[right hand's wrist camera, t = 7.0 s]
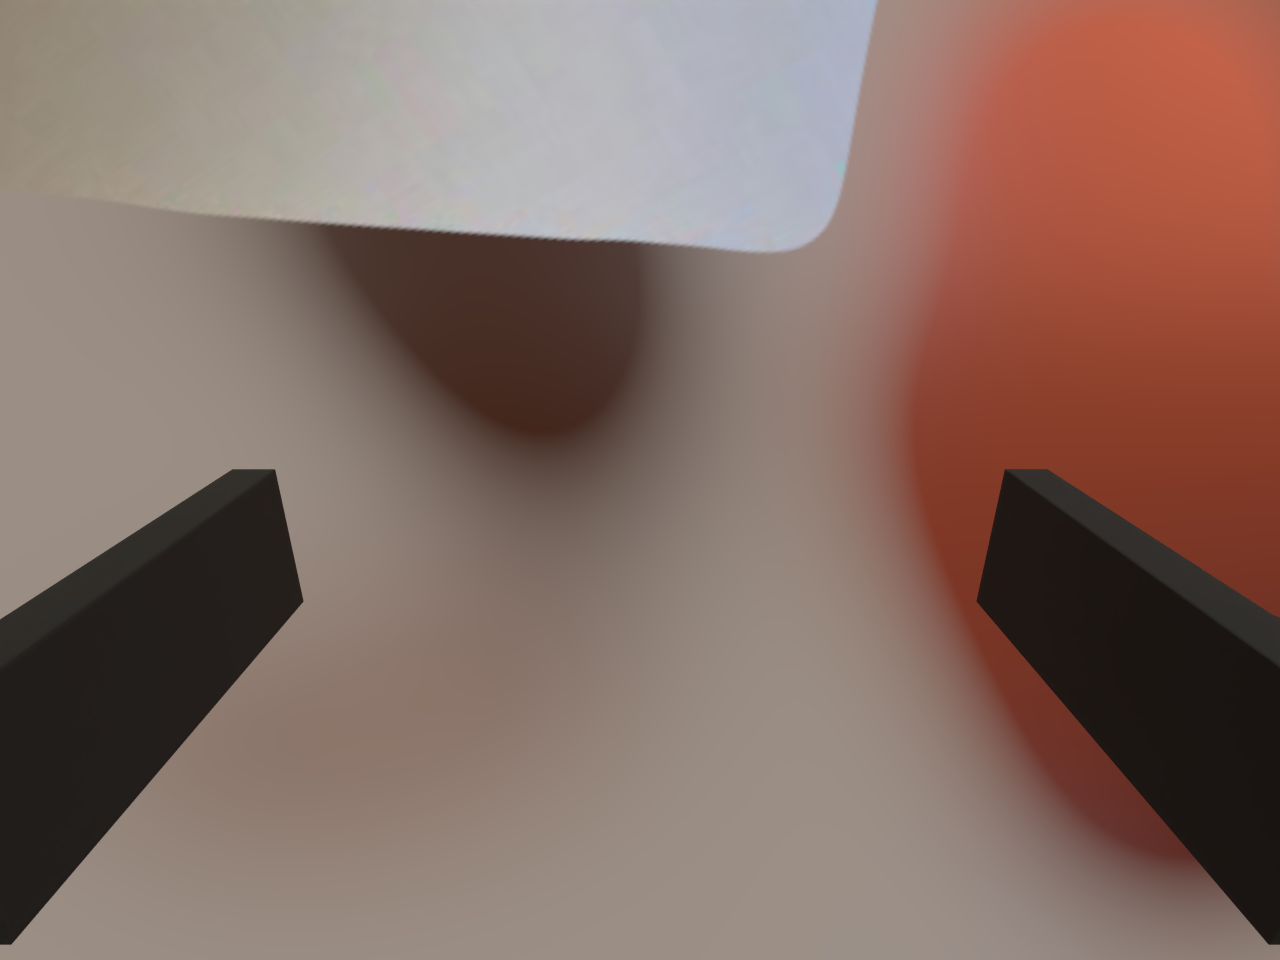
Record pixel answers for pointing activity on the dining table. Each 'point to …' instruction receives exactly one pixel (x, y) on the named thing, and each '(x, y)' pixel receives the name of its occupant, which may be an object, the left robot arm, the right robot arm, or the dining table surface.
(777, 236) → the dining table surface
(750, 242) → the dining table surface
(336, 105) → the dining table surface
